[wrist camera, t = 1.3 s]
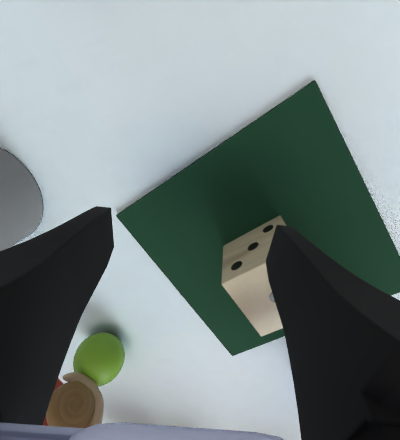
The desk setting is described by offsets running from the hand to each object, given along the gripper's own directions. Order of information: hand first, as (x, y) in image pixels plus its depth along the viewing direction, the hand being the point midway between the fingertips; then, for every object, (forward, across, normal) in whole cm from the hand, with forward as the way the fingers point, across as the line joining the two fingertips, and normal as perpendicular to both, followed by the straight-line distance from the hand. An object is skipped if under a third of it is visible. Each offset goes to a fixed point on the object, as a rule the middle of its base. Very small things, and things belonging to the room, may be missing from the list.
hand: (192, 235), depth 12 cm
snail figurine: (+10, +8, +24) cm, 27 cm away
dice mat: (+11, -7, +8) cm, 15 cm away
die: (+10, -7, +8) cm, 15 cm away
